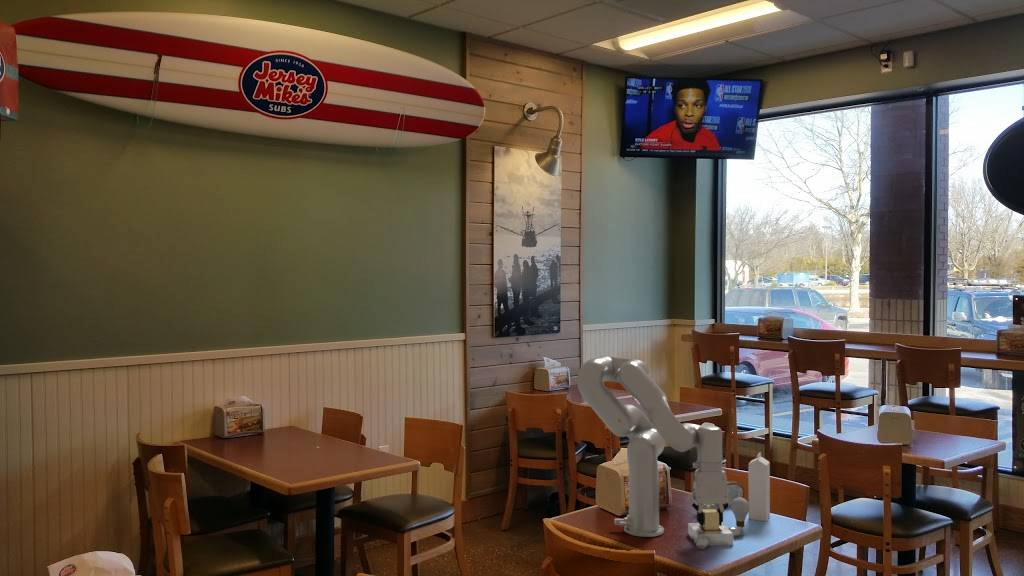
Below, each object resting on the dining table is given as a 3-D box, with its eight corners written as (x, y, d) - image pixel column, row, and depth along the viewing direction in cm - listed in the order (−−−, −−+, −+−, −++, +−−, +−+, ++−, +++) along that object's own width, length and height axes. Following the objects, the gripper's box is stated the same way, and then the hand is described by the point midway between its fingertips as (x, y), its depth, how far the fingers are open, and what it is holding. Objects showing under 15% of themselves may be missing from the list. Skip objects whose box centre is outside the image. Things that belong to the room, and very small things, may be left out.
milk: (748, 519, 269) (747, 454, 269) (752, 514, 275) (751, 450, 274) (767, 521, 266) (766, 456, 266) (770, 516, 272) (769, 452, 272)
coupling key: (705, 542, 246) (704, 513, 245) (701, 538, 250) (701, 509, 250) (719, 542, 246) (719, 513, 246) (715, 537, 250) (715, 509, 250)
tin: (741, 502, 290) (741, 479, 290) (745, 505, 287) (745, 481, 287) (702, 504, 288) (702, 481, 288) (705, 506, 285) (705, 483, 285)
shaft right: (726, 539, 248) (726, 529, 248) (721, 536, 251) (721, 527, 251) (743, 537, 250) (743, 528, 249) (738, 534, 252) (738, 525, 252)
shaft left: (701, 543, 244) (701, 533, 244) (710, 544, 243) (710, 535, 243) (695, 549, 239) (695, 539, 239) (705, 550, 237) (705, 540, 237)
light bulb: (750, 531, 256) (750, 500, 256) (731, 530, 257) (731, 499, 257) (748, 526, 261) (748, 495, 261) (730, 525, 263) (730, 494, 263)
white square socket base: (697, 545, 242) (697, 534, 242) (688, 534, 253) (688, 523, 253) (733, 545, 242) (733, 533, 242) (722, 533, 253) (722, 522, 253)
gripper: (685, 469, 244) (685, 528, 244) (740, 468, 244) (740, 527, 244) (679, 463, 251) (680, 521, 251) (733, 463, 252) (733, 520, 252)
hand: (710, 523), depth 248 cm, fingers open, 5 cm apart
